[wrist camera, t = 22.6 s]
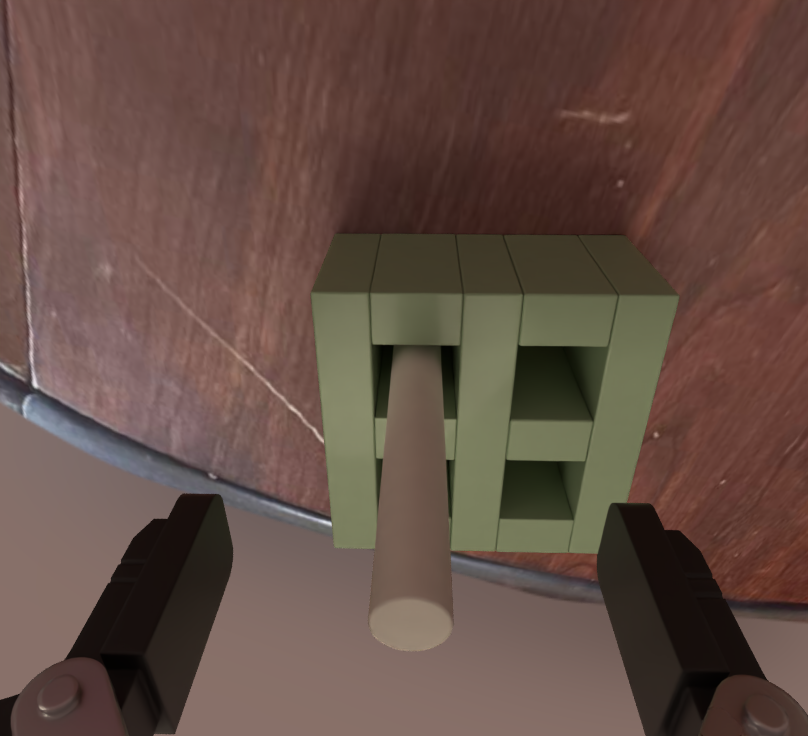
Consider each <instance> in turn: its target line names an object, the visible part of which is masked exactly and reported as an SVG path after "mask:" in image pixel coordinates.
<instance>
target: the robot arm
mask: <svg viewBox="0 0 808 736" xmlns="http://www.w3.org/2000/svg"><path fill="white" fill-rule="evenodd" d="M232 562H233V545H232V540H231V535H230V531H229V526H228V522H227V517H226V513H225V508H224V503H223V499H222V497H221V496H220V495H219V494H182V495H180V497H179V498H178V500H177V501H176V503H175V506H174V508H173V509H172V511H171V513H170V515H169V517H168V519H153V520H152V521H151V522H150V523H149V524H148V525H147V526H146V527H145V528H144V529H142V530H141V531H140V532H139V533H138V534H137V535H136V536H135V537H134V538H133V540H132V541H131V543H130V545H129V547H128V549H127V550H126V552H125V554H124V556H123V558H122V559H121V564H120V565H118V566H117V568H116V570H115V572H114V574H113V575H112V577H111V582H110V583H108V585H107V586H106V588H105V590H104V592H103V593H102V595H101V597H100V599H99V600H98V602H97V604H96V606H95V608H94V610H93V611H92V613H91V615H90V617H89V618H88V620H87V622H86V624H85V626H84V627H83V629H82V631H81V633H80V635H79V636H78V638H77V640H76V642H75V644H74V645H73V647H72V649H71V651H70V652H69V654H68V655H67V657H66V658H65V660H64V661H61V662H59V663H56V664H54V665H52V666H50V667H49V668H47V669H45V670H44V671H43V672H41V673H40V674H38V675H37V676H36V677H35V678H34V679H32V680H31V681H30V682H29V684H28V685H27V686H26V687H25V688H24V689H23V691H22V692H21V693H20V694H18V695H15V696H12V697H9V698H5V699H2V700H0V736H153V735H154V734H175V732H176V729H177V726H178V723H179V720H180V717H181V715H182V712H183V709H184V706H185V703H186V700H187V697H188V695H189V692H190V689H191V686H192V683H193V680H194V677H195V674H196V672H197V669H198V666H199V663H200V660H201V657H202V654H203V652H204V649H205V646H206V643H207V640H208V637H209V634H210V631H211V628H212V625H213V623H214V620H215V617H216V614H217V611H218V608H219V606H220V602H221V600H222V597H223V594H224V591H225V588H226V585H227V582H228V580H229V577H230V573H231V568H232ZM597 573H598V580H599V585H600V588H601V592H602V595H603V598H604V601H605V605H606V608H607V611H608V614H609V618H610V621H611V624H612V627H613V631H614V634H615V637H616V640H617V644H618V647H619V650H620V654H621V657H622V660H623V663H624V667H625V670H626V673H627V676H628V679H629V683H630V686H631V689H632V693H633V696H634V699H635V702H636V706H637V709H638V712H639V715H640V719H641V722H642V725H643V729H644V732H645V735H646V736H808V715H807V714H806V712H805V711H804V709H803V708H802V707H801V706H800V705H799V703H798V702H797V701H796V700H795V699H793V698H792V697H791V696H790V695H789V694H788V693H787V692H785V691H784V690H782V689H781V688H779V687H778V686H776V685H775V684H773V683H771V682H769V681H768V680H767V679H766V677H765V675H764V674H763V672H762V670H761V668H760V666H759V664H758V662H757V661H756V658H755V657H754V654H753V652H752V651H751V649H750V647H749V645H748V643H747V641H746V639H745V637H744V635H743V633H742V631H741V629H740V627H739V625H738V623H737V621H736V619H735V617H734V616H733V614H732V612H731V610H730V608H729V606H728V604H727V602H726V600H725V599H723V597H722V592H721V590H720V588H719V586H718V584H717V582H716V580H715V579H713V578H712V573H711V571H710V569H709V567H708V565H707V563H706V561H705V559H704V557H703V555H702V553H701V551H700V550H699V549H698V548H697V547H696V546H695V545H694V544H693V543H692V542H691V541H690V540H689V539H688V538H687V537H686V536H685V535H683V534H682V533H681V532H680V531H679V530H664V528H663V526H662V523H661V521H660V519H659V517H658V515H657V513H656V511H655V509H654V507H653V506H652V505H651V504H649V503H611V504H610V506H609V509H608V512H607V517H606V521H605V525H604V529H603V533H602V538H601V542H600V546H599V550H598V555H597Z"/></svg>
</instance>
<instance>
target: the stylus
mask: <svg viewBox="0 0 808 736" xmlns="http://www.w3.org/2000/svg"><path fill="white" fill-rule="evenodd" d="M368 625H369V628H370V631H371V633H372V635H373V636H374V637H375V638H376V639H377V640H378V641H380V642H381V643H382V644H384V645H386V646H388V647H391V648H394V649H397V650H403V651H422V650H427V649H431V648H433V647H436V646H438V645H440V644H441V643H443V642H444V641H445V640H446V639H447V638H448V637H449V635H450V634H451V632H452V629H453V626H454V621H453V598H452V577H451V556H450V535H449V514H448V493H447V472H446V451H445V430H444V409H443V388H442V367H441V346H440V345H394V348H393V359H392V369H391V380H390V391H389V401H388V412H387V423H386V433H385V444H384V455H383V465H382V476H381V487H380V497H379V508H378V519H377V529H376V540H375V551H374V562H373V572H372V583H371V595H370V604H369V615H368Z"/></svg>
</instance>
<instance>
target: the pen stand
mask: <svg viewBox="0 0 808 736" xmlns="http://www.w3.org/2000/svg"><path fill="white" fill-rule="evenodd" d="M678 301H679V294H678V293H677V292H676V291H675V290H674V289H673V288H672V287H671V286H670V284H669V283H668V282H667V281H666V280H665V279H664V278H663V277H662V276H661V274H660V273H659V272H658V271H657V270H656V269H655V268H654V267H653V266H652V265H651V263H650V262H649V261H648V260H647V259H646V258H645V257H644V256H643V255H642V254H641V252H640V251H639V250H638V249H637V248H636V247H635V246H634V245H633V244H632V243H631V241H630V240H629V239H628V238H627V237H626V236H625V235H578V236H576V235H504V236H502V235H490V234H457V235H456V236H455V234H382V235H381V234H335V235H334V237H333V240H332V242H331V245H330V247H329V250H328V252H327V255H326V257H325V259H324V262H323V264H322V267H321V269H320V272H319V274H318V276H317V279H316V281H315V284H314V286H313V289H312V291H311V304H312V314H313V325H314V336H315V347H316V358H317V369H318V379H319V390H320V401H321V412H322V423H323V433H324V444H325V455H326V466H327V477H328V487H329V498H330V509H331V520H332V531H333V542H334V547H335V548H361V549H375V540H376V529H377V519H378V508H379V497H380V487H381V476H382V465H383V455H384V444H385V433H386V423H387V412H388V401H389V391H390V380H391V369H392V359H393V348H394V345H440V346H441V367H442V388H443V409H444V430H445V451H446V472H447V493H448V514H449V535H450V549H451V550H459V551H495V550H496V551H498V552H544V553H567V552H569V553H598V550H599V546H600V542H601V538H602V533H603V529H604V525H605V521H606V517H607V512H608V509H609V506H610V504H611V503H627V499H628V496H629V492H630V488H631V484H632V480H633V476H634V472H635V468H636V464H637V461H638V457H639V453H640V449H641V445H642V441H643V437H644V433H645V429H646V426H647V422H648V418H649V414H650V410H651V406H652V402H653V398H654V394H655V390H656V387H657V383H658V379H659V375H660V371H661V367H662V363H663V359H664V355H665V352H666V348H667V344H668V340H669V336H670V332H671V328H672V324H673V320H674V317H675V313H676V309H677V305H678Z"/></svg>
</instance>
